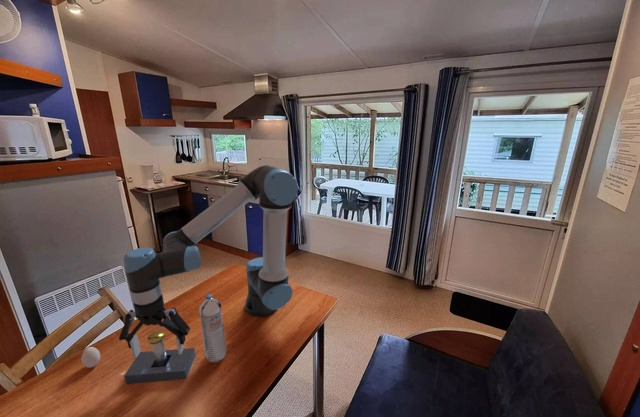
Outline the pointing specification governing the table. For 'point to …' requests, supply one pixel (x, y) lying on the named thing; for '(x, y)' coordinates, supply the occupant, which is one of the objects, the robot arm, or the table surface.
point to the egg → (90, 357)
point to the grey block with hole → (149, 372)
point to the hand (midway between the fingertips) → (159, 352)
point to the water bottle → (212, 329)
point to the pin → (158, 347)
